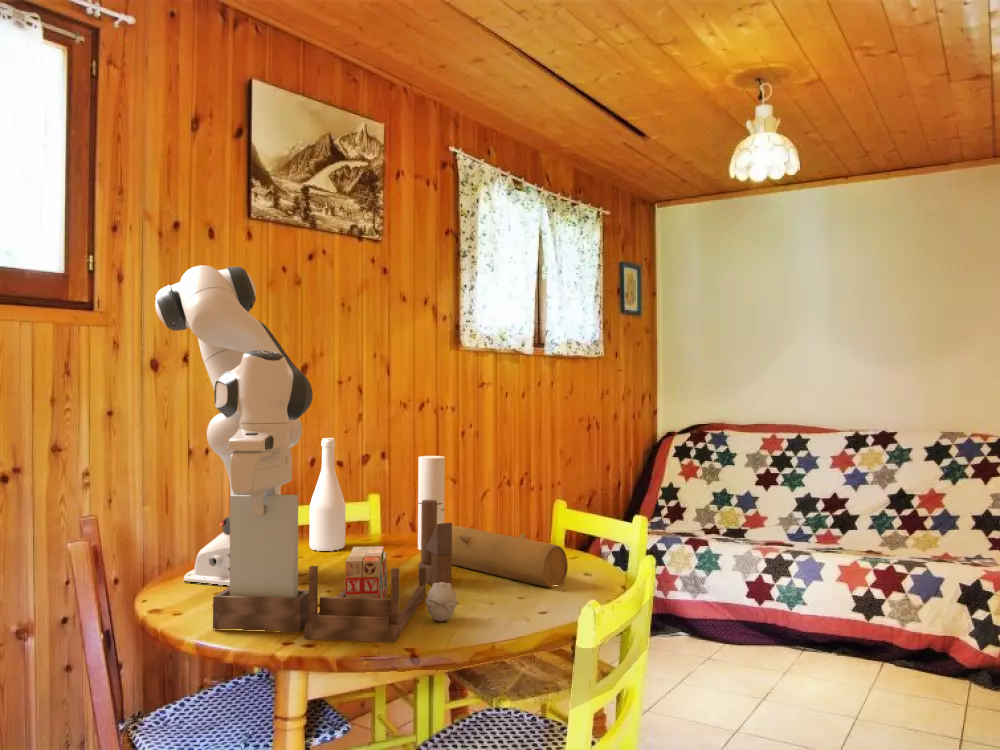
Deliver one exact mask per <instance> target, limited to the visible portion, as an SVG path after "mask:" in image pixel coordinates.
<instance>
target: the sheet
mask: <svg viewBox="0 0 1000 750" xmlns="http://www.w3.org/2000/svg"><path fill="white" fill-rule="evenodd" d="M263 499H264V505H266V513H265V514H264V515H262V516H255V515H254V514H253V504H252V501H251V498H250V495H231V496H230V495H229V516H230V586H229V588H230V596H248V597H282V598H297V597H298V590H299V494H281V495H273V494H265V496H264V497H263Z"/></svg>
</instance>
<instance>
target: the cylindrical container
mask: <svg viewBox="0 0 1000 750" xmlns="http://www.w3.org/2000/svg"><path fill="white" fill-rule="evenodd" d="M445 459H446V457H445V456H442V455H423V456H422V455H420V456H418V469H417V470H418V472H417V473H418V479H417V480H418V486H417V490H418V491H417V494H418V495H417V497H418V498H417V502H418V503H417V505H418V506H417V510H418V511H417V550H418V549H419V550H418V551H420V550H421V517H422V501H423V500H436V501H437V524H441V523H445V481H446V480H445V479H446V477H445V471H446V470H445V469H446V468H445V467H446V466H445V462H446V461H445Z"/></svg>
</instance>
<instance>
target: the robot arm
mask: <svg viewBox="0 0 1000 750" xmlns="http://www.w3.org/2000/svg"><path fill="white" fill-rule="evenodd" d="M256 297H257V289H256V285H255V281H254V280H253V278H252V276H251V275H250V274H249V273H248V272H247V271H246V269H244V268H243V267H242V266H229V267H226V268H225V269H219V270H218V269H216V268H214V267H213V266H210V265H196V266H193V267H191V268H189V269H188V270H186V271H185V273H184V274H183V275H182V276H181V278H180V281H179V282H177V283H174V284H172V285H170V284H168V285H166V286H163V287H162V288H161V289H159V290H158V291H157V293H156V294H155V302H154V305H155V306H154V307H155V312H156V315H157V317H158V319H159V320H160V321H161V322H162V323H163V325H165V326H166V328H167V329H169V330H171V331H173V332H174V331H177V332H178V331H185V330H187V329H188V328H190V330H191V332H192V333H193V334H194V336H196V337H197V341H198V346H199V350H200V354H201V358H202V361H203V364H204V366H205V370H206V372H207V375H208V376H209V377H208V378H209V380H210V383H211V385H212V387H213V388H212V389H213V390H214V406H215V408H216V409H217V411H219V412H220V413H218V414H216V415H214V417H212V418H211V420H210V421H209V423H208V425H207V429H206V439H207V443H208V446H209V448H210V449H211V450H212V451H213V453H215V454H216V455H217V456H218V457H219V458H220V460H221V461H222V463H223V465H224V467H225V470H226V472H227V476H228V480H229V488H230V489H229V490H230V495H229V497H230V496H231V495H250V498H251V501H252V504H253V514H254V515H255V516H262V515H264V514H265V513H266V505H264V499H263V497H264V496H265V494H273V495H282V492H281V491H282V489H281V488H282V486H283V485H286V484H288V483H290V482H291V481H292V479H293V461H292V460H293V458H292V452H291V451H292V450H291V448H293V447H294V446H296V445H297V444H299V441H300V439H301V438H302V434H303V425H302V422H301V419H300V417H302V416H303V415H304V414H305V413H306V412H307V411H308V410H309V408H310V407H311V405H312V402H313V398H314V397H313V395H314V393H313V386H312V384H311V381H309V379H308V377H307V376H306V375H305V373H303V371H301V370H300V369H299V368H298V367H297V365H295V364H294V362H293V361H292V360H291V358H290V357H289V355H288V354H287V353H286V351H285V349H283V347H282V345H281V344H280V343H279V341H278V340H277V338H276V337H275V336H274V334H273V333H272V332H271V329H269V328H268V326H266V324H265V323H264V322H262V321H260V320H259V319H257V318H256V317H255V316H253V315H252V314H251V313H249V312H250V311H251V310H252V309H253V308H254V305H255V303H256V299H257V298H256ZM219 523H220V524H219V527H222V532H221V533H220V534H218V535H217V536H216V537H215V538H214V539H213V540H211V541H210V542H209V543H207V544H206V545H204V547H202V548H201V549H200V550H199V551H198V553H197V556H196V557H195V558H196V559H195V564H194V568H193V569H192V570H190V571H188V572H186V574H184V576H183V581H184V580H185V581H193V582H202V583H211V584H210V585H212V584H218V585H217V586H223V585H227V587H230V515H228V517H225V518H224V519H223V520H221V521H219Z"/></svg>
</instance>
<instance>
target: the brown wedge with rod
mask: <svg viewBox="0 0 1000 750" xmlns="http://www.w3.org/2000/svg"><path fill="white" fill-rule="evenodd" d="M452 525H453V523H452V522H444V523H441V524H437V501H436V500H423V501H422V517H421V551H420V552H421V554H420V561H419V562H418V569H419V568H420V567H426V583H428V584H431V586H432V585H433V584H434V583H439V582H445V583H451V584H452V570H453V569H452V567H453V566H452V555H451V554H452Z"/></svg>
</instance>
